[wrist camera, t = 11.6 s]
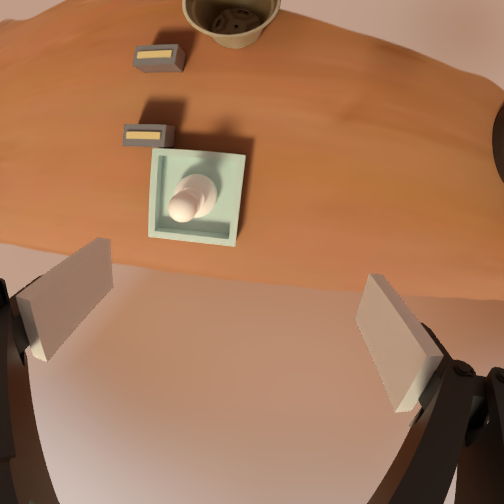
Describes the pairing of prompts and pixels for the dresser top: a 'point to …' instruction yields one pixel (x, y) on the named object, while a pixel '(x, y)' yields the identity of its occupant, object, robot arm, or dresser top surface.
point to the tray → (180, 166)
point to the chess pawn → (192, 198)
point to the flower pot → (231, 19)
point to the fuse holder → (154, 61)
